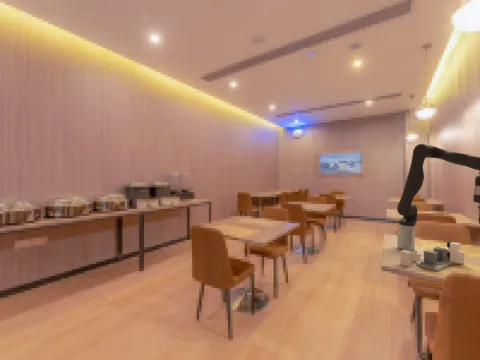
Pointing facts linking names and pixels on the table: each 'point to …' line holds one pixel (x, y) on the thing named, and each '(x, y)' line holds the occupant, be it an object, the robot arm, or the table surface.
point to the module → (406, 257)
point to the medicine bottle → (454, 252)
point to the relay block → (416, 256)
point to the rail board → (435, 259)
